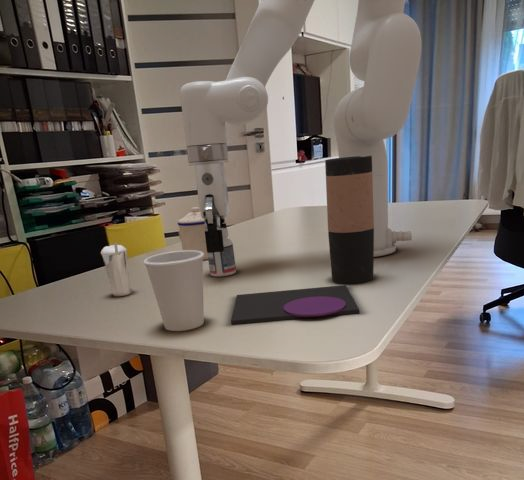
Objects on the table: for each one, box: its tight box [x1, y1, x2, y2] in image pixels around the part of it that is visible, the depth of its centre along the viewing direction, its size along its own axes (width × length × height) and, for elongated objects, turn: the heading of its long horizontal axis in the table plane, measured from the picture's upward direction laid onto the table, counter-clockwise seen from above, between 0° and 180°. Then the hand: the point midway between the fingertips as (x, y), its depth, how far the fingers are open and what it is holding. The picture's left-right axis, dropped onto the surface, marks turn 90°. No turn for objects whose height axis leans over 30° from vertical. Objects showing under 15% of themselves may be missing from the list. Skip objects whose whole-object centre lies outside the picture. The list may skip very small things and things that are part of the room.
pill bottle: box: [207, 227, 237, 278], centre depth 104 cm, size 5×5×9 cm
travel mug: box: [324, 156, 375, 285], centre depth 88 cm, size 8×8×20 cm
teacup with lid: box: [177, 206, 208, 261], centre depth 124 cm, size 12×9×12 cm
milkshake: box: [100, 241, 132, 297], centre depth 95 cm, size 4×5×10 cm
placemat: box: [230, 284, 360, 325], centre depth 79 cm, size 18×16×1 cm
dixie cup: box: [143, 250, 205, 332], centre depth 74 cm, size 8×8×10 cm
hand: (218, 247), depth 103 cm, fingers open, 9 cm apart
